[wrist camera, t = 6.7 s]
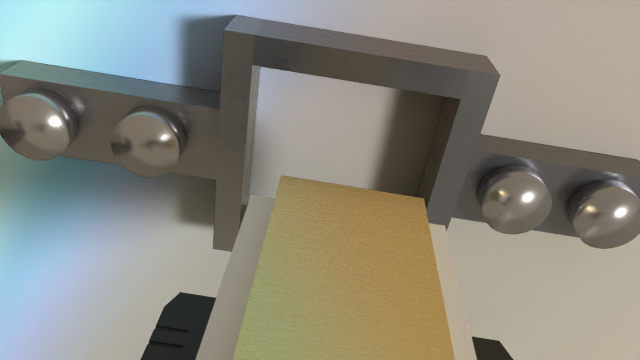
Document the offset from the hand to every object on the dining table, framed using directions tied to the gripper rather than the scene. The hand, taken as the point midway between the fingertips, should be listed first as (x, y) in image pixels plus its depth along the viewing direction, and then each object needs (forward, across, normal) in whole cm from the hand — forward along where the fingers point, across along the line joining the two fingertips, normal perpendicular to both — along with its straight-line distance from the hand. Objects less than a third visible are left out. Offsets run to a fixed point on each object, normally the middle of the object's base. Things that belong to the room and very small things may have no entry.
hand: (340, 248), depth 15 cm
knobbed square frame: (+6, 0, 0) cm, 6 cm away
